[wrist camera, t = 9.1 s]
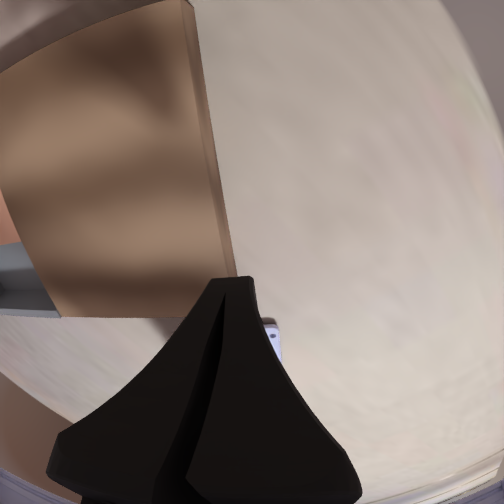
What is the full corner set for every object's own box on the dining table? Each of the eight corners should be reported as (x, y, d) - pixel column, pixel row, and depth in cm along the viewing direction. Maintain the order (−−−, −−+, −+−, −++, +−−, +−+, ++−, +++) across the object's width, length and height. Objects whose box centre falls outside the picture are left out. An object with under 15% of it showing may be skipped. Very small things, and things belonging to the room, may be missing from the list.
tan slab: (239, 284, 22) (235, 314, 20) (76, 292, 23) (61, 316, 21) (193, 7, 12) (179, -4, 10) (3, 83, 13) (-26, 91, 11)
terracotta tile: (39, 223, 19) (21, 241, 17) (5, 230, 20) (-12, 247, 17) (19, 168, 17) (-3, 182, 15) (-14, 181, 17) (-34, 195, 15)
